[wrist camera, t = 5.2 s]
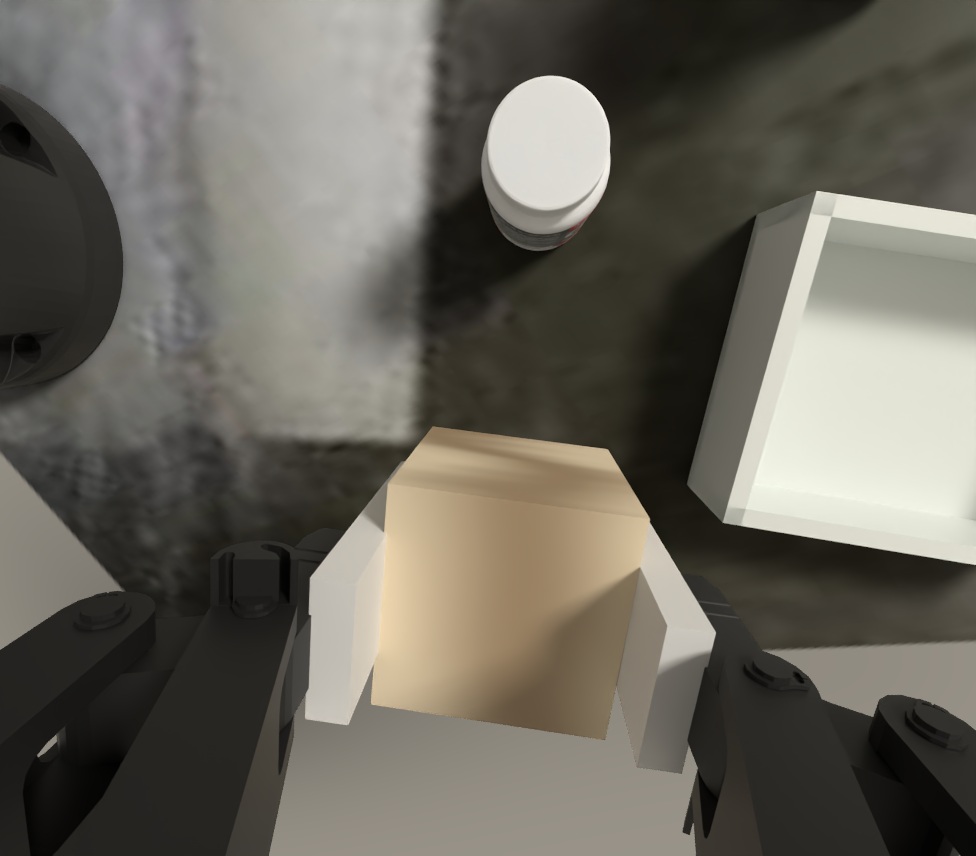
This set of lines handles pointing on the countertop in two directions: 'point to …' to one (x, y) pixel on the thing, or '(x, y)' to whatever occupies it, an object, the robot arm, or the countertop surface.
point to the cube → (508, 582)
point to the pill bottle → (545, 161)
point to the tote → (849, 380)
